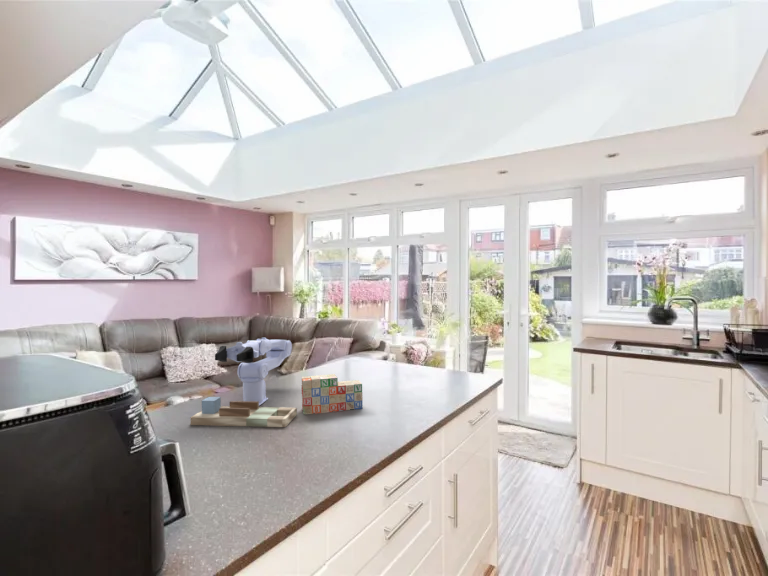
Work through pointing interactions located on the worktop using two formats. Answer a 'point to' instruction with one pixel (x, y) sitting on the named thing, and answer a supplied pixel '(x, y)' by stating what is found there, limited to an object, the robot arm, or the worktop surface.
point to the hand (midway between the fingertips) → (226, 357)
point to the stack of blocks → (330, 394)
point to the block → (211, 405)
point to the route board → (246, 415)
